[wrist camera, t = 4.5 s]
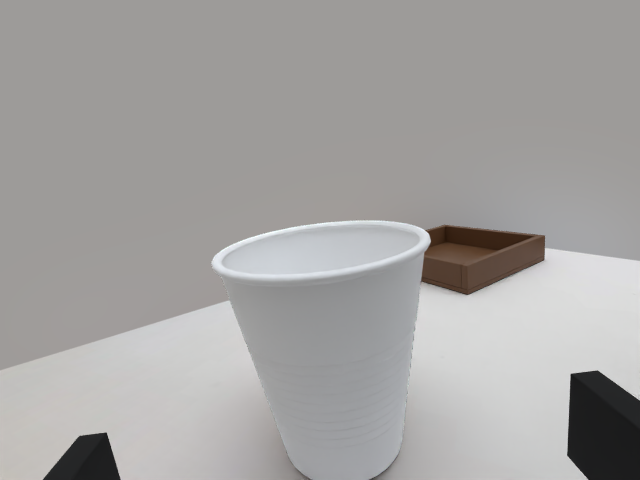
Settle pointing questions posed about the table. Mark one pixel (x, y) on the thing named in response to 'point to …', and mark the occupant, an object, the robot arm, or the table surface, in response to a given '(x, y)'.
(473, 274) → the tray
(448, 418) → the table surface
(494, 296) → the table surface
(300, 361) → the cup
